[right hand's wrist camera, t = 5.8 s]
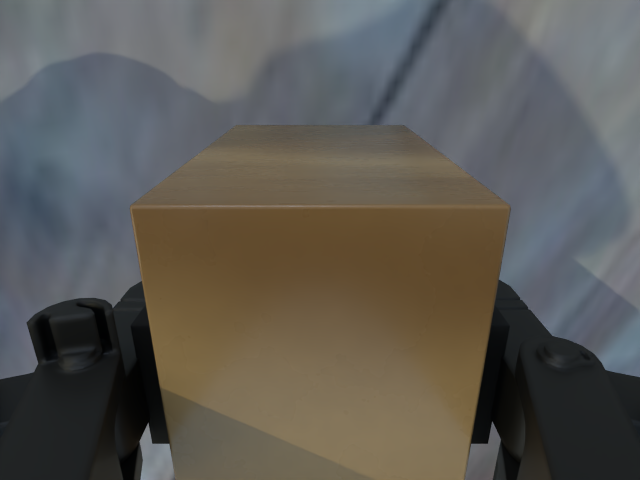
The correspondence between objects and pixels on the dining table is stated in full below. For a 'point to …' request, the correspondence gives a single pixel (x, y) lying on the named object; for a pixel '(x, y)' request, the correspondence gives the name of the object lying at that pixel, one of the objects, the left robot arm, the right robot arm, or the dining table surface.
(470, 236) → the bar
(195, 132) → the dining table surface
